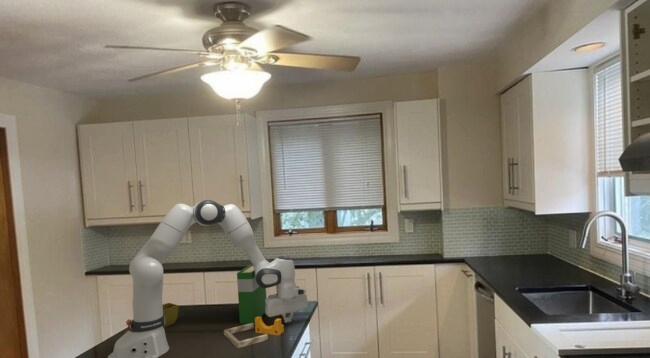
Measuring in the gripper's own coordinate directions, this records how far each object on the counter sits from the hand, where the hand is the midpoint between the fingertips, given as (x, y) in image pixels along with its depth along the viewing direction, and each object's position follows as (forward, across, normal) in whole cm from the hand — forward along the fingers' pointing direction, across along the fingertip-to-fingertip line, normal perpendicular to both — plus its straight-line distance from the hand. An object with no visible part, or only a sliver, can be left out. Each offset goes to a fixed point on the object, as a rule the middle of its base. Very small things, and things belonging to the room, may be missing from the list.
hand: (287, 321), depth 182 cm
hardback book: (+2, -8, +22) cm, 24 cm away
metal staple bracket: (+2, -20, 0) cm, 20 cm away
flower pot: (+2, -46, +39) cm, 60 cm away
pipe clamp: (+2, -10, -1) cm, 10 cm away
